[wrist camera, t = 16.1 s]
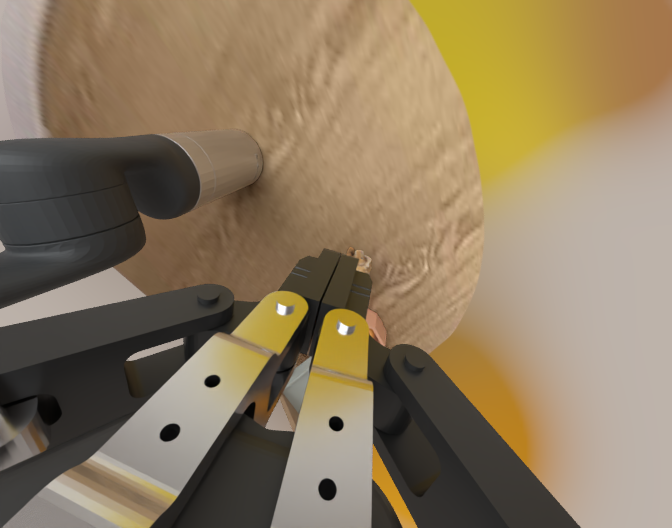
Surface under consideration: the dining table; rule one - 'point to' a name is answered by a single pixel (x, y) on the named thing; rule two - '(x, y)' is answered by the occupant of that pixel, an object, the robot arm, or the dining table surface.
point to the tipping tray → (295, 392)
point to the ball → (371, 332)
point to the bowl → (376, 327)
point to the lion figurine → (361, 260)
